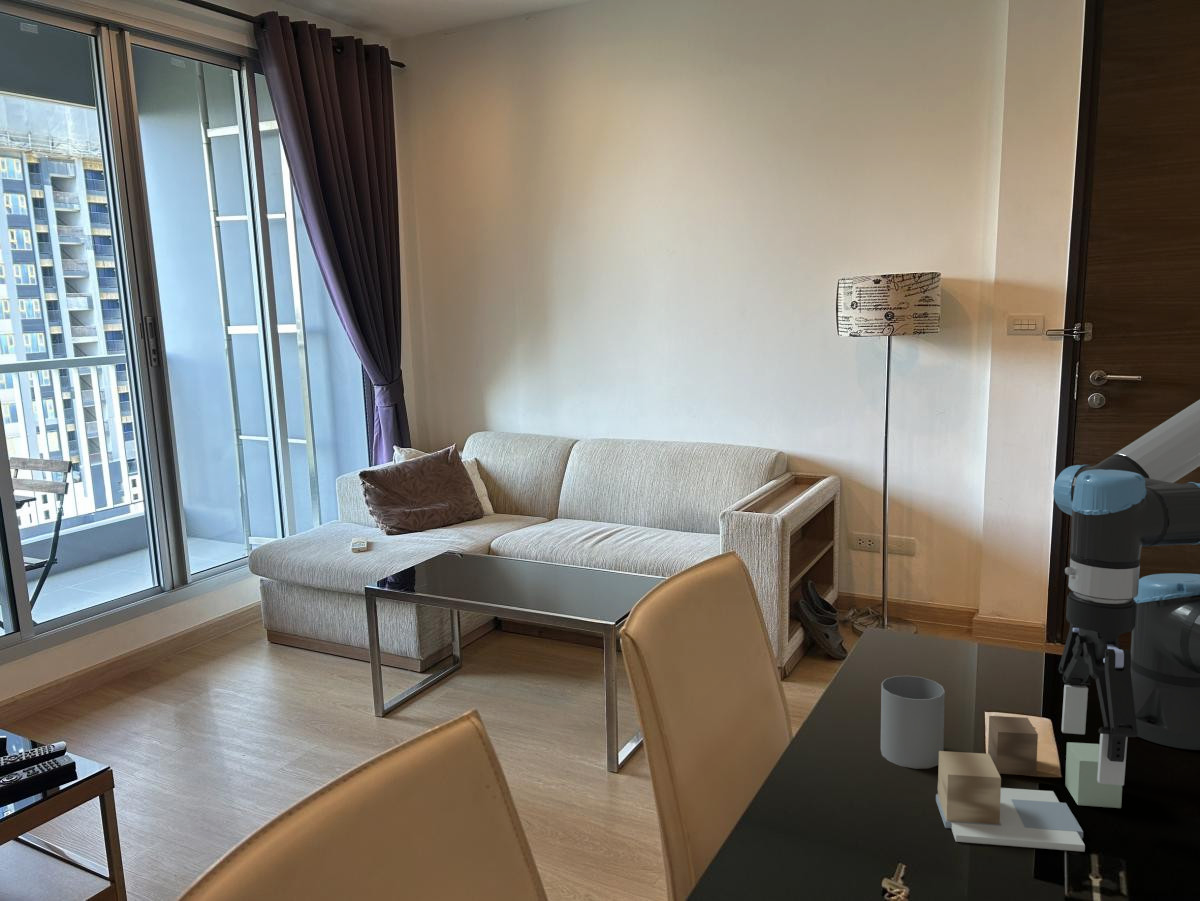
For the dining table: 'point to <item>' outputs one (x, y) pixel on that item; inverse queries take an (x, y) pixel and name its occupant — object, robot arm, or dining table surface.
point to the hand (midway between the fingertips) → (1090, 756)
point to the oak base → (969, 787)
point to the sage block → (1088, 777)
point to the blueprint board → (1024, 823)
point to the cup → (912, 721)
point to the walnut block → (1013, 745)
